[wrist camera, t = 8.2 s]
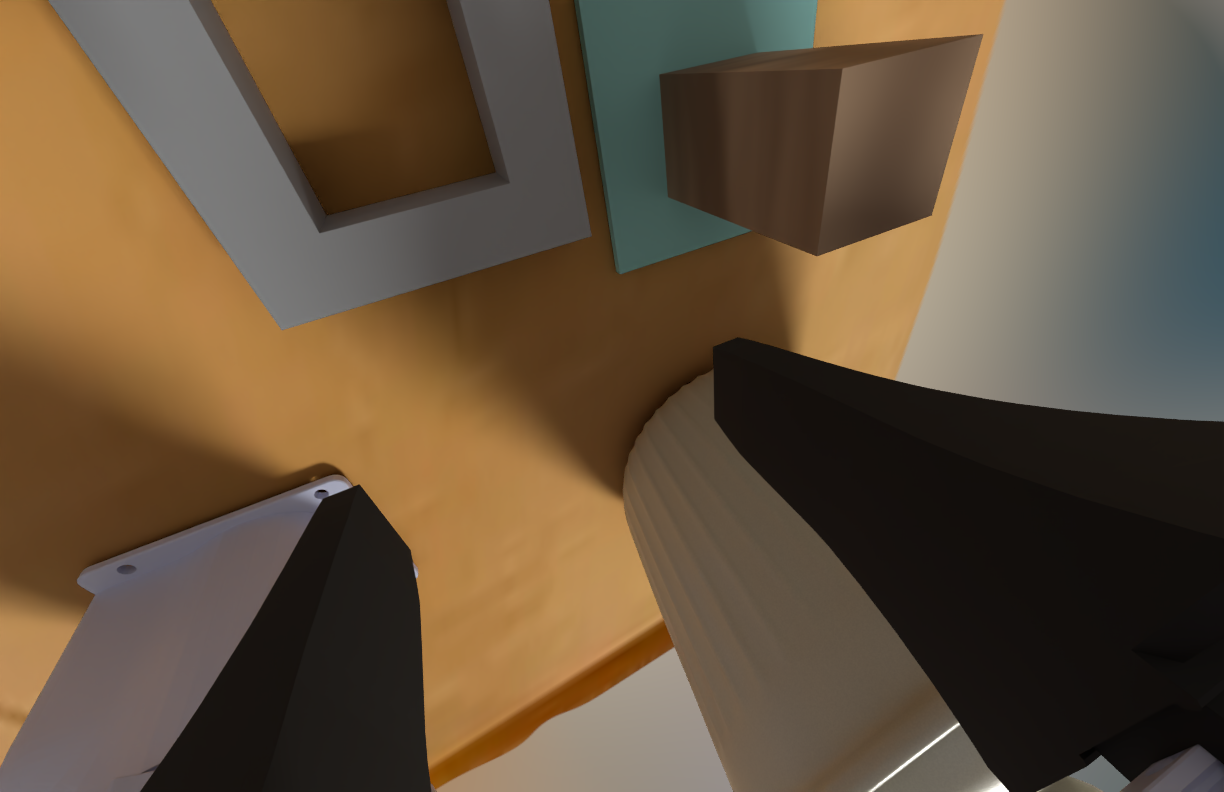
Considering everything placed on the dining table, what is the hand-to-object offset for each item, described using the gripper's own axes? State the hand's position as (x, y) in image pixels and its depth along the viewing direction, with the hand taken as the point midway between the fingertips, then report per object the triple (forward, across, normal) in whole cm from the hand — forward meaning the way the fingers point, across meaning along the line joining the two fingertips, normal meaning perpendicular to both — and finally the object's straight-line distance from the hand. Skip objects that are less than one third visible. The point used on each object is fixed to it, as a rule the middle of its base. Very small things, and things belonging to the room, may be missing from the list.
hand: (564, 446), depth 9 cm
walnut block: (+10, -10, -3) cm, 14 cm away
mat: (+10, -10, -3) cm, 15 cm away
